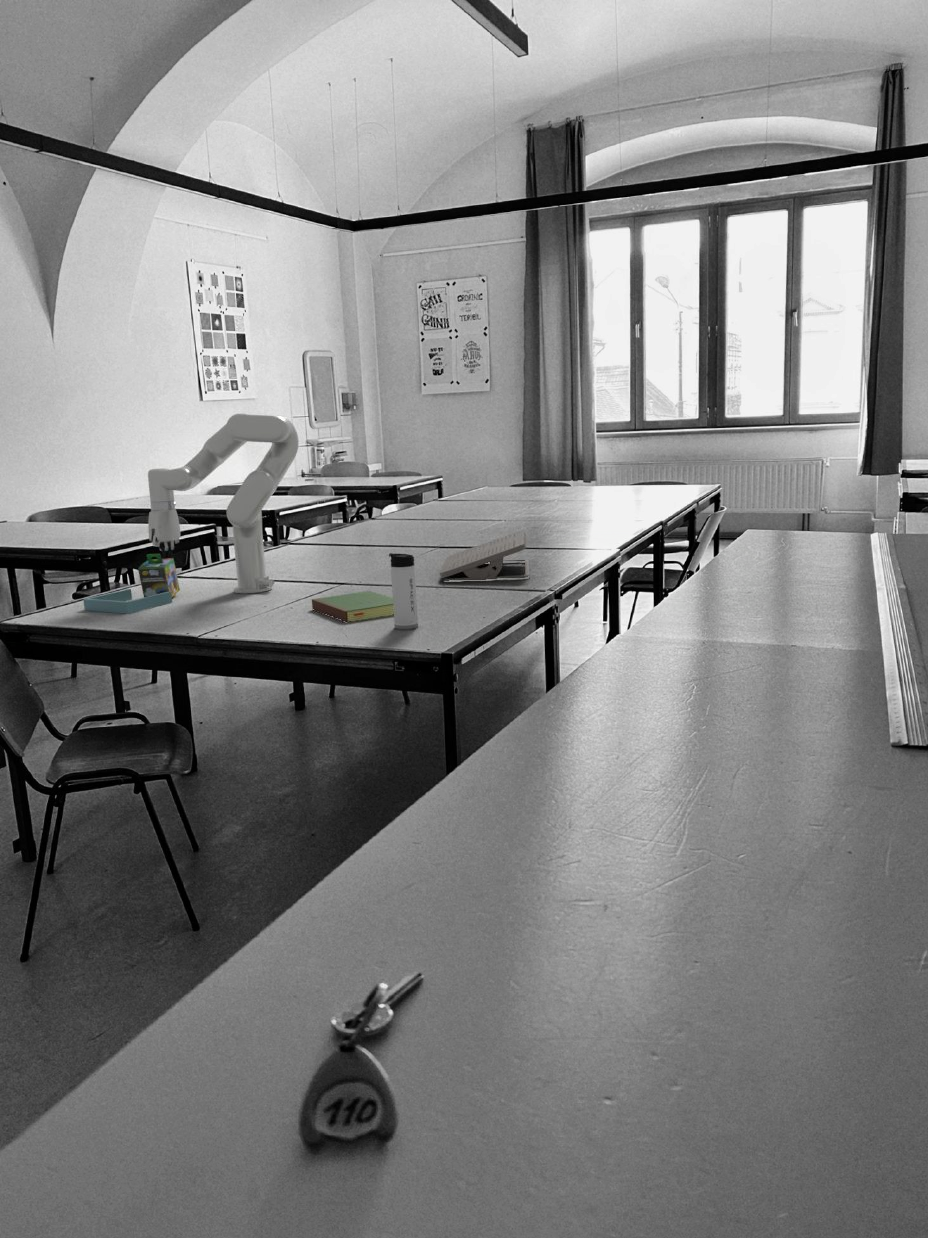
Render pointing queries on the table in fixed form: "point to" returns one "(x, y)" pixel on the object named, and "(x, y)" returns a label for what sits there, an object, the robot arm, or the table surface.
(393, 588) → the travel mug
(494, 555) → the foot rest
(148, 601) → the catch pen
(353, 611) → the hardcover book
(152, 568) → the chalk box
